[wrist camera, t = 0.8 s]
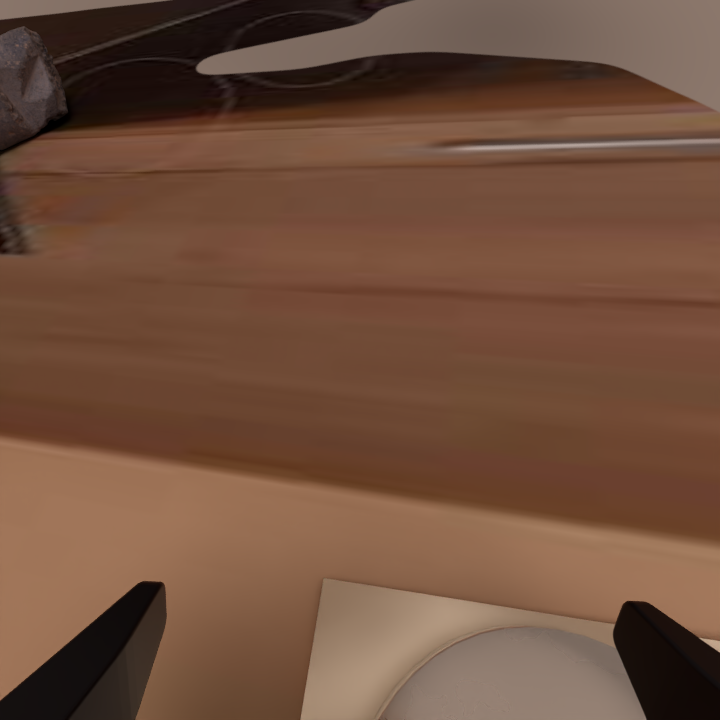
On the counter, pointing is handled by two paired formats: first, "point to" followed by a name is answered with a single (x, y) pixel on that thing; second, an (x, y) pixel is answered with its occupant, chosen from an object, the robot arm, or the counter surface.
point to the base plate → (398, 642)
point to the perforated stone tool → (27, 87)
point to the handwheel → (516, 679)
